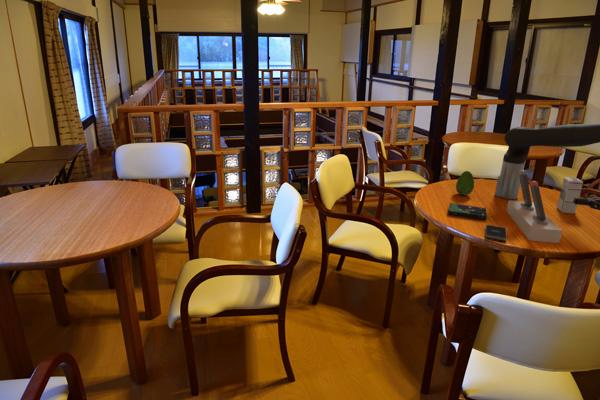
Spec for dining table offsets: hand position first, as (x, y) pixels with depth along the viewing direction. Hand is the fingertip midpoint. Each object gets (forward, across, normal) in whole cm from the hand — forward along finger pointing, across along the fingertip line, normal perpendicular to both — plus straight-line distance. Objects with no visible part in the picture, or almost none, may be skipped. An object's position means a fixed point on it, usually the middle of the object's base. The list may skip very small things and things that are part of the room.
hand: (574, 200), depth 149 cm
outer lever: (+10, 0, +7) cm, 12 cm away
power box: (+10, -7, +14) cm, 19 cm away
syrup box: (-12, -30, +14) cm, 35 cm away
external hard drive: (+26, +6, +15) cm, 31 cm away
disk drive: (+32, -14, +15) cm, 39 cm away
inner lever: (+10, -15, +7) cm, 19 cm away
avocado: (+29, -41, +15) cm, 52 cm away
